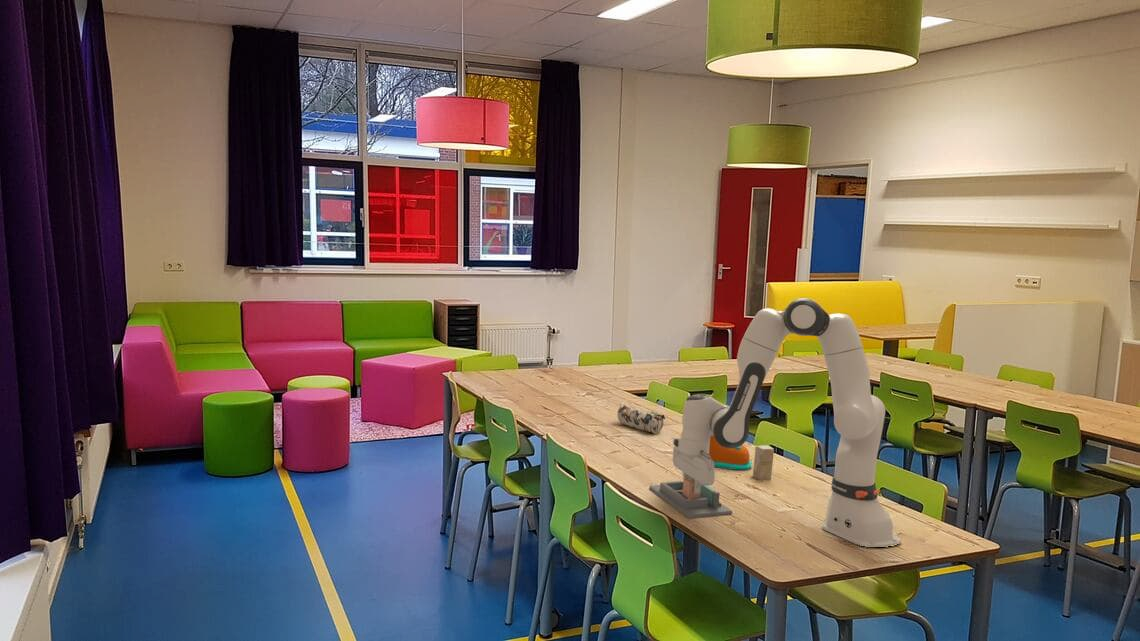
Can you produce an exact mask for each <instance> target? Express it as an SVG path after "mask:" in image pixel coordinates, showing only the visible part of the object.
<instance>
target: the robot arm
mask: <svg viewBox="0 0 1140 641" xmlns="http://www.w3.org/2000/svg"><path fill="white" fill-rule="evenodd" d="M791 334H794V335H797V336H801V337H802V336H803V337H806V336H810V337H816V338H817V339H818V341H819V342H820V346H821V349H822V352H823V353H822V354H823V357H824V361H825V365H826V368H827V371H828V372H827V373H828V376H829V381H830V387H831V399H832V400H831V401H832V407H833V425H834V428H835V430H836V432H837V433H838V434H839V435H840V439H839V443H838V447H837V449H836V456H835V463H834V466H835V467H834V475H833V477H832V480H831V490H832V492H831V496H830V498H829V500H828V505H827V510H826V513H825V519H824V521H823V523H822V526H821V529H822V530H824V531H826V532H829V533H831V534H833V535H835V536H837V537H840V538H841V539H844V540H845V541H849V542H850V543H853V544H855V545H857V544H858V545H857V546H859V545H860V546H859V547H861V546H866V547H886V548H889V547H888V546H891V545H895V544H898V543H900V542H901V543H902V539H901V538H900V537H898V536H897V535H896V534H895V533H894V527H893V526H894V524H893V520H892V518H891V516H890V514H889V513H888V512H887V511H886V509H885V508H884V506H883V505H882V504H881V502H880V501H879V499H878V495H880V494H881V493H880V492H881V490H878V489H877V485H876V482H875V477H876V467H877V458H878V453H879V448H880V445H881V444H880V443H881V440H882V434H883V429H884V423H885V417H886V406H885V404H884V402H883V401H882V400H881V399H880V398H879V397H878V396H875V395H873V394H872V391H871V390H872V389H871V381H870V379H871V377H870V376H871V374H870V369H869V366H868V362H867V358H866V357H867V356H866V355H865V350H864V347H863V343H862V340H861V337H860V334H859V331H858V329H857V327H856V325H855V323H854V320H853V319H852V317H851V316H850V315H848V314H845V313H839V312H837V313H832V314H831V313H830V314H828V312H827V311H826V310H824V308H823V307H822V306H821V305H820V304H819V303H818V302H817V301H815V300H813V299H812V298H807V297H801V298H797V299H794V300H793V301H791V302H790V303H789V304H788V305H787V307H785V308H784V309H783V310H776V309H773V308H762V309H760V310H759V311H758V312H757V313H756V314H755V315H754V317H753V319H752V320H751V322H750V323H749V325H748V326H747V329H746V331H745V333H744V335H743V336H742V339H741V341H740V344H739V347H738V351H737V355H736V362H737V367H738V372H739V373H738V374H739V380H738V385H737V387H736V390H735V392H734V395H733V396H732V400H731V402H730V405H727V404H724V403H722V402H720V401H718V400H716V399H715V398H713V397H712V396H711V395H710V394H707V393H695V394H692V395H689V396H688V397H687V398H686V399H685V402H684V404H683V405H684V406H683V409H682V420H681V423H682V431H681V434H680V437H675V438H673V439H672V445H673V449H672V450H673V451H672V463H673V466H674V468H677V469H678V470H679V471H681V472H682V477H683V479H685V478H689V477H691V478H693V479H694V480H695V486H694V487H693V490H692V491H693V492H694V493H695V494H699V493H700V488H701V486H702V485H704V486H706V485H707V486H712V485H714V483H715V467H714V462H713V460H712V459H711V456H710V455H709V447H710V436H714V437H715V439H716V441H717V442H718V444H720V445H721V446H723V447H725V448H737V447H739V446H741V445H742V444H743V445H744V444H745V443H746V442H747V440H748V438H749V434H750V418H751V414H752V412H753V409H754V407H755V404H756V401H757V399H758V396H759V394H760V391H761V388H762V385H763V383H764V381H765V379H766V377H767V375H768V373H769V371H770V369H771V367H772V365H773V364H774V360H775V359H776V357H777V355H778V352H779V350H780V348H781V346H782V343H783V341H784V340H785V339H786V337H787V336H789V335H791ZM901 543H900V544H901ZM866 547H865V548H866Z"/></svg>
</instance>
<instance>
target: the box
mask: <svg viewBox="0 0 1140 641" xmlns="http://www.w3.org/2000/svg"><path fill="white" fill-rule="evenodd" d="M754 452H755V453H754V460H753V471H752V476H753V477H754V478H756V479H757V480H772V473H773V465H774V464H773V462H774V456H775V455H774V452H775V448H773V447H771V446H770V445H755V450H754Z"/></svg>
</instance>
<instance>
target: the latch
mask: <svg viewBox="0 0 1140 641" xmlns="http://www.w3.org/2000/svg"><path fill="white" fill-rule="evenodd" d="M713 492H717V491H716V490H715V489H713V488H712V487H710V485H706V486H704V485H702V486H701V492H700V498H707V499H708V503H709V504H710V505H712V496H713Z"/></svg>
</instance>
